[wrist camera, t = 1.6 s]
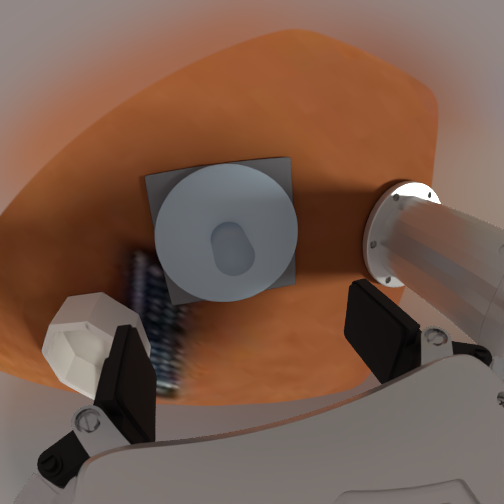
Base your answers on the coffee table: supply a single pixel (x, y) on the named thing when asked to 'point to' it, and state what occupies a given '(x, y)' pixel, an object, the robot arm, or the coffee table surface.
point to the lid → (226, 232)
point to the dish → (86, 338)
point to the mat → (166, 181)
